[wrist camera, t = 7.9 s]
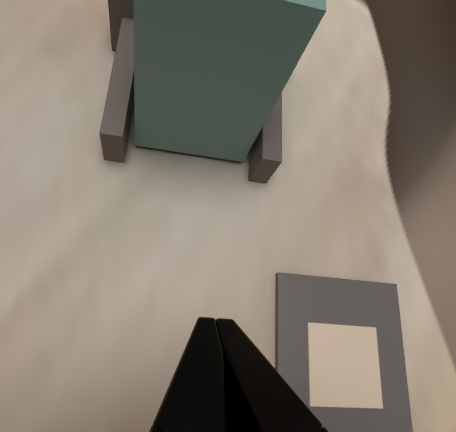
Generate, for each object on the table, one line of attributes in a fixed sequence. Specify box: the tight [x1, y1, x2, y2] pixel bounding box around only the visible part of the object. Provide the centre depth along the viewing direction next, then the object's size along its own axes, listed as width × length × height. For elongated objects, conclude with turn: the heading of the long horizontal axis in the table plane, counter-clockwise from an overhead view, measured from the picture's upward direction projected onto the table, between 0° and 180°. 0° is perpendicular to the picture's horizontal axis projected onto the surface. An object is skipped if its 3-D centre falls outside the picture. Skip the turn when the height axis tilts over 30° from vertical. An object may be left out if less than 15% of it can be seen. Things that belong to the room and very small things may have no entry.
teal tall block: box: [133, 0, 326, 162], centre depth 20 cm, size 6×7×13 cm
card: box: [276, 272, 413, 432], centre depth 22 cm, size 10×8×1 cm
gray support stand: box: [100, 0, 282, 183], centre depth 24 cm, size 11×12×5 cm
